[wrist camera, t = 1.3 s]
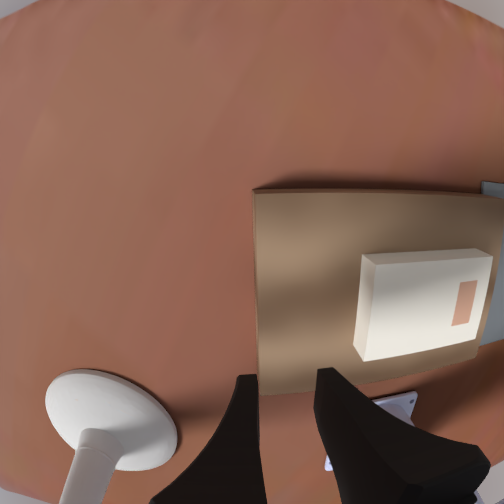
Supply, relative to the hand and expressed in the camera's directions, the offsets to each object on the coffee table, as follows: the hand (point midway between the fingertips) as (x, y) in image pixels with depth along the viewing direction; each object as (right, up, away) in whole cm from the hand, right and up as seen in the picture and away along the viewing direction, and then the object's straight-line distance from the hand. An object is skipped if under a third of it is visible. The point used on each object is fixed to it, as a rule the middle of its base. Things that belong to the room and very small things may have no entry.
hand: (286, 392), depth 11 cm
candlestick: (-14, -10, +13) cm, 22 cm away
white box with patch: (+10, +2, +7) cm, 12 cm away
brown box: (+8, +3, +10) cm, 13 cm away
